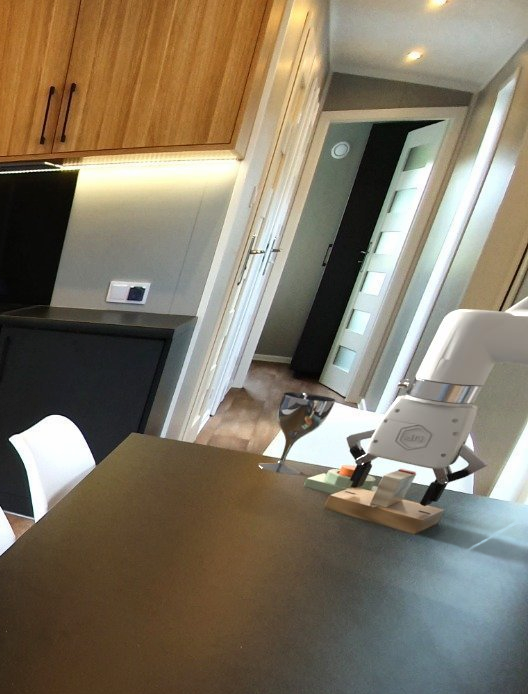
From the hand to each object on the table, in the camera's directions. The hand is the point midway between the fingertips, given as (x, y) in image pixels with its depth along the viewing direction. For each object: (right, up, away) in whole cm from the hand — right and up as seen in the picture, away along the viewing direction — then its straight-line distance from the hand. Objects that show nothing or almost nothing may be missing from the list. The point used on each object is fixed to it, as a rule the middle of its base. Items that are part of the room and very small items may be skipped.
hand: (389, 494), depth 107 cm
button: (+4, +4, +11) cm, 12 cm away
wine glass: (+2, +7, +24) cm, 25 cm away
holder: (0, -1, +1) cm, 1 cm away
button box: (+4, +1, +12) cm, 13 cm away
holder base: (0, -3, +2) cm, 4 cm away
